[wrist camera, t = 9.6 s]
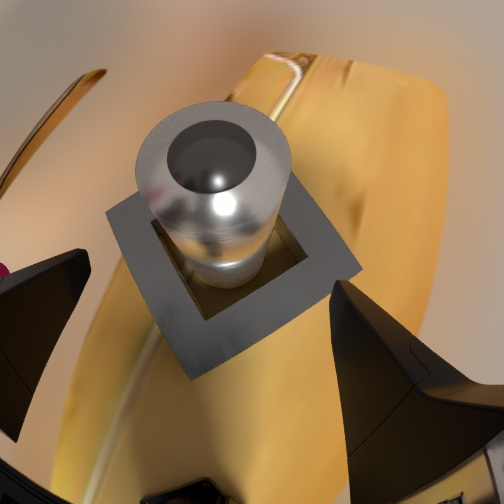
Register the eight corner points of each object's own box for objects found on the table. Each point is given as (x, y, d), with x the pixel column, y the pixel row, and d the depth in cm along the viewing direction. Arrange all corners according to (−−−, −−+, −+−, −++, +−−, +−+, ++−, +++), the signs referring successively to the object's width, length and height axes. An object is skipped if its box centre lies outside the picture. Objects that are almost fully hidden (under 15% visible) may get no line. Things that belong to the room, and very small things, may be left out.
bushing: (230, 304, 18) (215, 264, 7) (175, 255, 19) (106, 166, 8) (279, 247, 19) (322, 148, 8) (224, 203, 20) (210, 81, 9)
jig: (198, 374, 17) (191, 380, 14) (119, 225, 19) (105, 212, 17) (349, 277, 19) (362, 269, 16) (255, 149, 21) (256, 129, 19)
